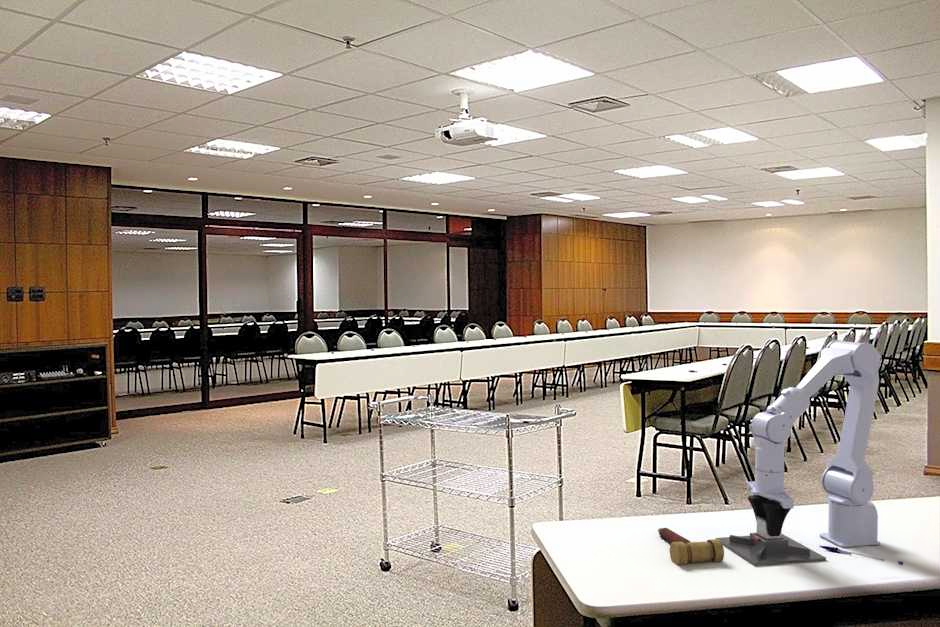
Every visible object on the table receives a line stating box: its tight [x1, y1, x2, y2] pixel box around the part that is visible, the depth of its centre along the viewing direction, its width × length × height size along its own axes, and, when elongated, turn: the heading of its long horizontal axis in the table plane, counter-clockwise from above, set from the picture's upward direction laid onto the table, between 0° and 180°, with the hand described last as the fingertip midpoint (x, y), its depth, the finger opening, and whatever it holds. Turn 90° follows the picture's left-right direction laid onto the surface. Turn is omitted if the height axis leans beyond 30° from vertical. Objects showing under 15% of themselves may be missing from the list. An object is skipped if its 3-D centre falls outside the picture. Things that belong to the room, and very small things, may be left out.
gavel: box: [657, 527, 725, 566], centre depth 169 cm, size 21×5×10 cm
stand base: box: [715, 532, 827, 567], centre depth 167 cm, size 16×16×3 cm
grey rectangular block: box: [755, 515, 783, 540], centre depth 167 cm, size 4×4×6 cm
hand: (768, 532), depth 167 cm, fingers closed on grey rectangular block, 4 cm apart
